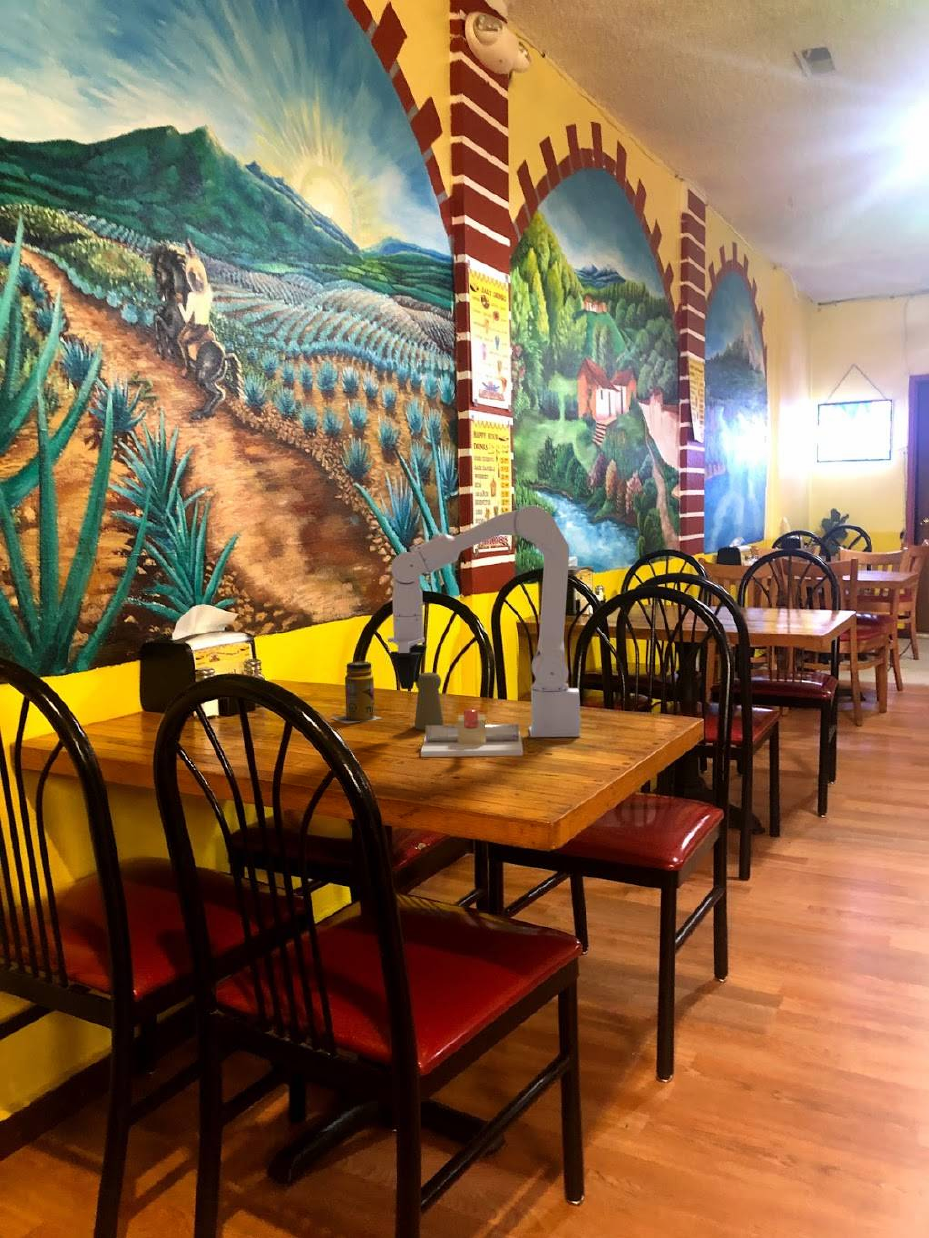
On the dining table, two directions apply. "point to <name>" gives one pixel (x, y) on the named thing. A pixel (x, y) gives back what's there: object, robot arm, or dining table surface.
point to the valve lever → (470, 718)
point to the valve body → (472, 732)
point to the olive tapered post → (428, 701)
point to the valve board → (472, 749)
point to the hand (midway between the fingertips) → (409, 685)
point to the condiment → (358, 693)
